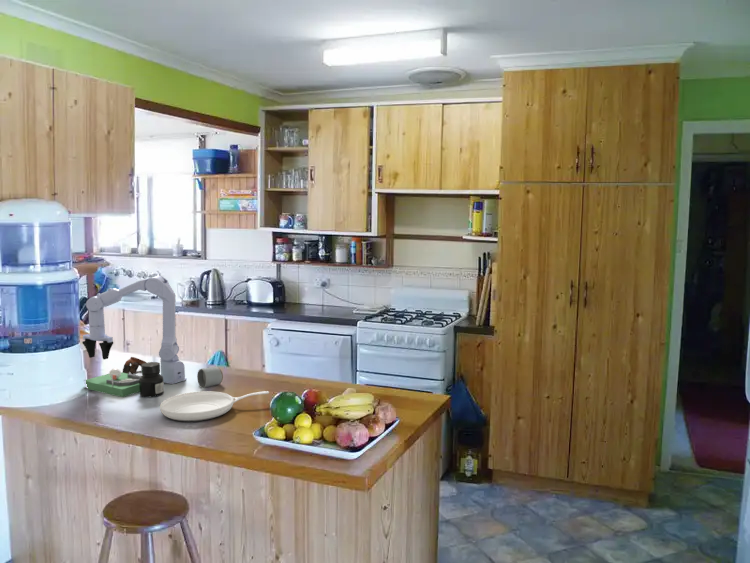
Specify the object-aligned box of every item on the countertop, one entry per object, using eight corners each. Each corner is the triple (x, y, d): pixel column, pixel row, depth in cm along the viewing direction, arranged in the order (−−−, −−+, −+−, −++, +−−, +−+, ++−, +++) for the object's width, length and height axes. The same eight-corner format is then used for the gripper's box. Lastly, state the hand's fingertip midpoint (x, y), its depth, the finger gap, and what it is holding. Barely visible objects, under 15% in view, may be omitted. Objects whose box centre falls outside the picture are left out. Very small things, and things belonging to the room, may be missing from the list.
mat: (156, 386, 248) (155, 376, 248) (122, 397, 235) (121, 386, 234) (117, 378, 260) (116, 368, 260) (83, 387, 247) (82, 377, 246)
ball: (123, 378, 249) (123, 368, 249) (114, 381, 245) (113, 370, 245) (116, 377, 251) (115, 366, 251) (107, 379, 248) (106, 369, 247)
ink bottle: (163, 397, 234) (162, 366, 233) (138, 399, 232) (137, 368, 231) (164, 389, 244) (163, 360, 242) (140, 391, 241) (139, 361, 240)
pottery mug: (119, 373, 270) (128, 355, 273) (140, 381, 273) (148, 363, 276) (120, 372, 259) (129, 354, 262) (142, 380, 262) (150, 362, 265)
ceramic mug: (224, 385, 250) (223, 366, 249) (206, 389, 244) (205, 370, 243) (211, 380, 257) (210, 362, 256) (193, 384, 251) (192, 366, 251)
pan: (159, 406, 225) (158, 393, 224) (263, 394, 238) (262, 382, 237) (161, 428, 201) (160, 414, 201) (276, 415, 215) (275, 401, 214)
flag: (118, 395, 237) (116, 374, 236) (116, 395, 237) (115, 375, 236) (113, 394, 238) (112, 373, 237) (112, 394, 238) (111, 374, 237)
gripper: (117, 325, 252) (119, 357, 253) (91, 322, 257) (93, 354, 259) (104, 328, 245) (105, 361, 247) (77, 325, 251) (79, 358, 253)
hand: (98, 358), depth 253 cm, fingers open, 7 cm apart
